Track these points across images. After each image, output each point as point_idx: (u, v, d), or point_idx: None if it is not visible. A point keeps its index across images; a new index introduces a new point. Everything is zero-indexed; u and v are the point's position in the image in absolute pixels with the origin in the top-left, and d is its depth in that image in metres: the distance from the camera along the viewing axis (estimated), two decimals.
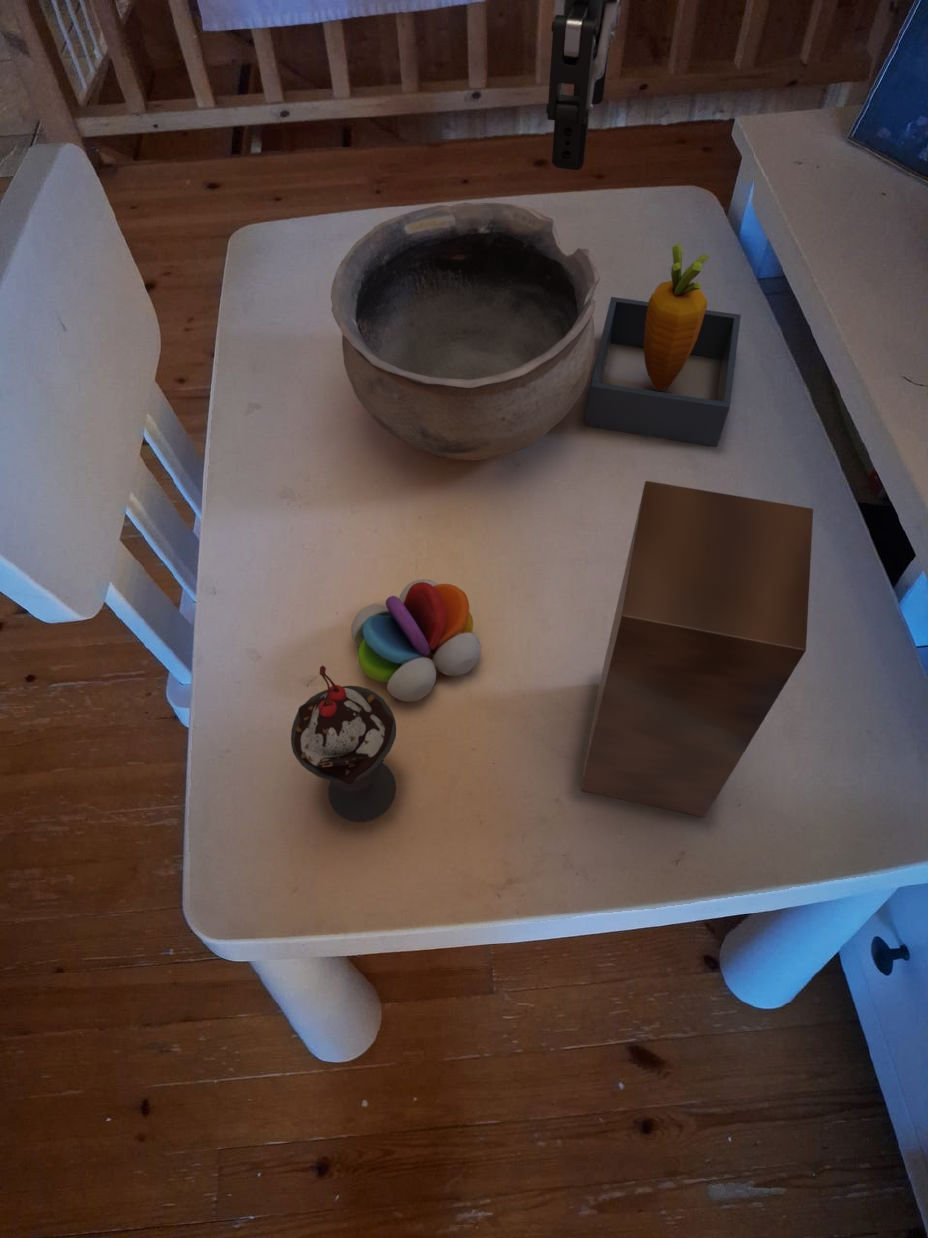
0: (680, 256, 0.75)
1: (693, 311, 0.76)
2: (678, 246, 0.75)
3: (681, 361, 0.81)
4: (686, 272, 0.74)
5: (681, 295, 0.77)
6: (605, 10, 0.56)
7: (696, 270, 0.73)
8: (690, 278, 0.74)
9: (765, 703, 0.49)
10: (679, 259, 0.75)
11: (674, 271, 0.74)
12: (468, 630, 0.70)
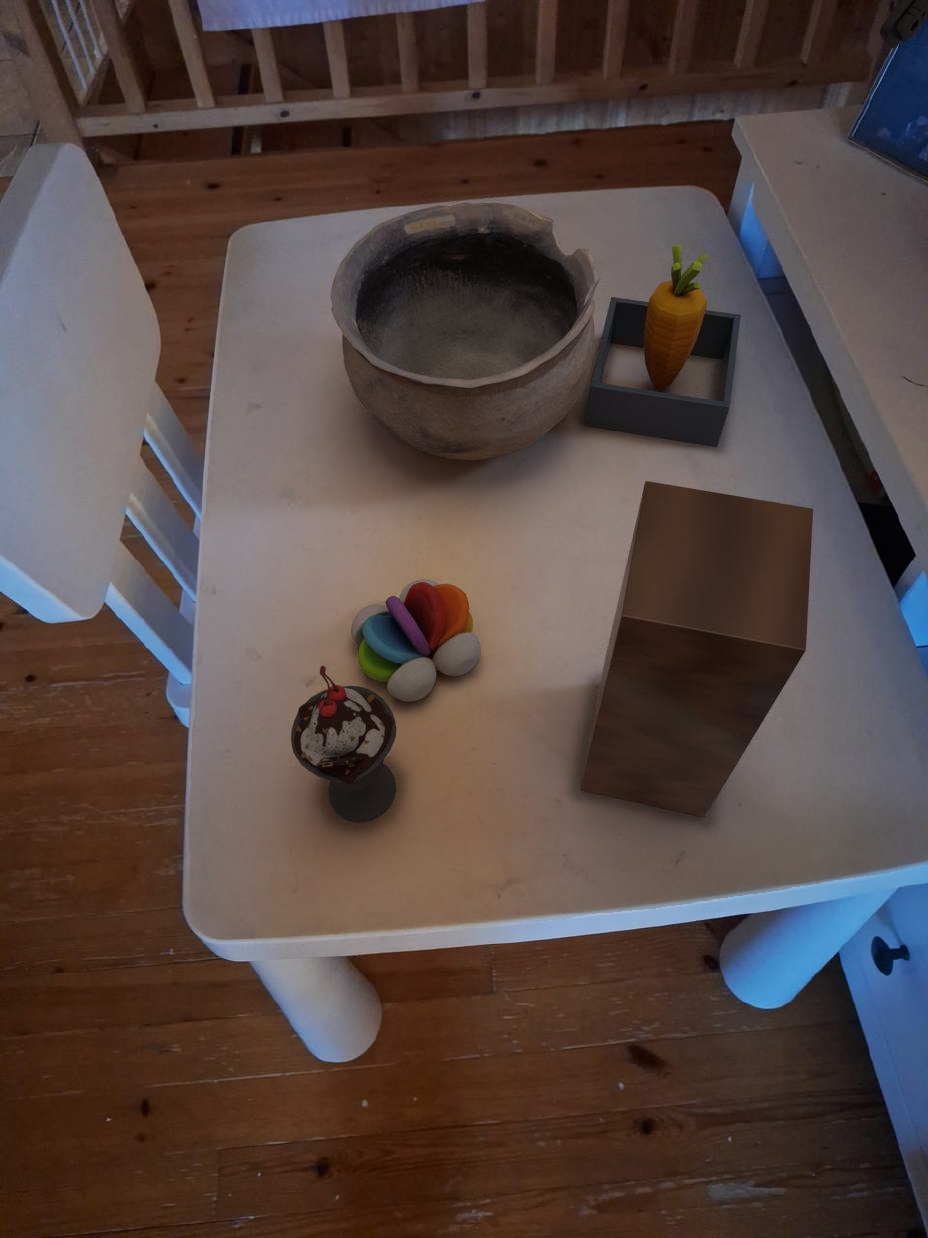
0: (680, 256, 0.75)
1: (693, 311, 0.76)
2: (678, 246, 0.75)
3: (681, 361, 0.81)
4: (686, 272, 0.74)
5: (681, 295, 0.77)
6: None
7: (696, 270, 0.73)
8: (690, 278, 0.74)
9: (765, 703, 0.49)
10: (679, 258, 0.75)
11: (674, 271, 0.74)
12: (468, 630, 0.70)
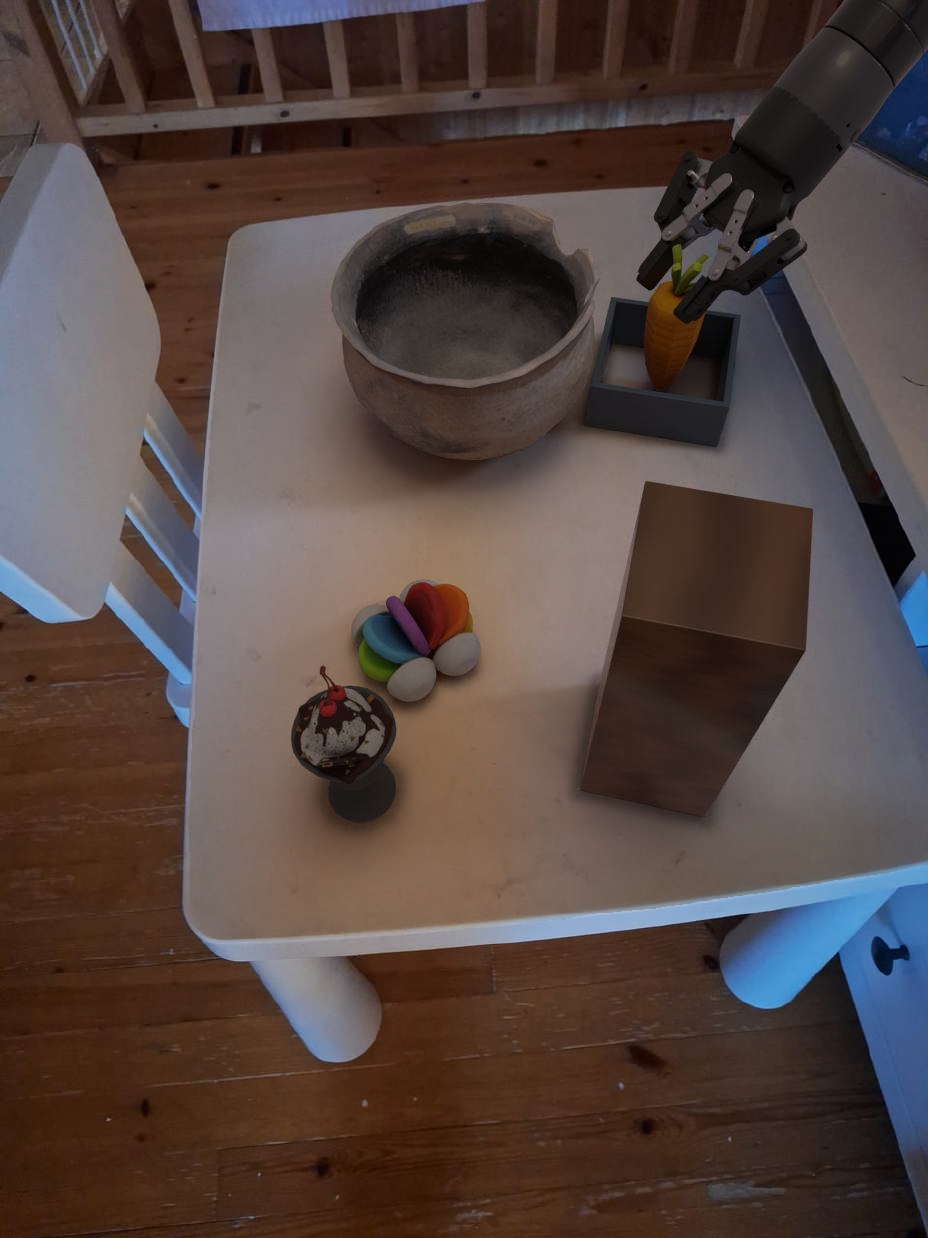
0: (680, 257, 0.75)
1: None
2: (678, 246, 0.75)
3: (681, 361, 0.81)
4: (686, 272, 0.74)
5: (681, 295, 0.77)
6: None
7: (696, 270, 0.73)
8: (690, 278, 0.74)
9: (765, 703, 0.49)
10: (679, 259, 0.75)
11: (674, 271, 0.74)
12: (468, 630, 0.70)
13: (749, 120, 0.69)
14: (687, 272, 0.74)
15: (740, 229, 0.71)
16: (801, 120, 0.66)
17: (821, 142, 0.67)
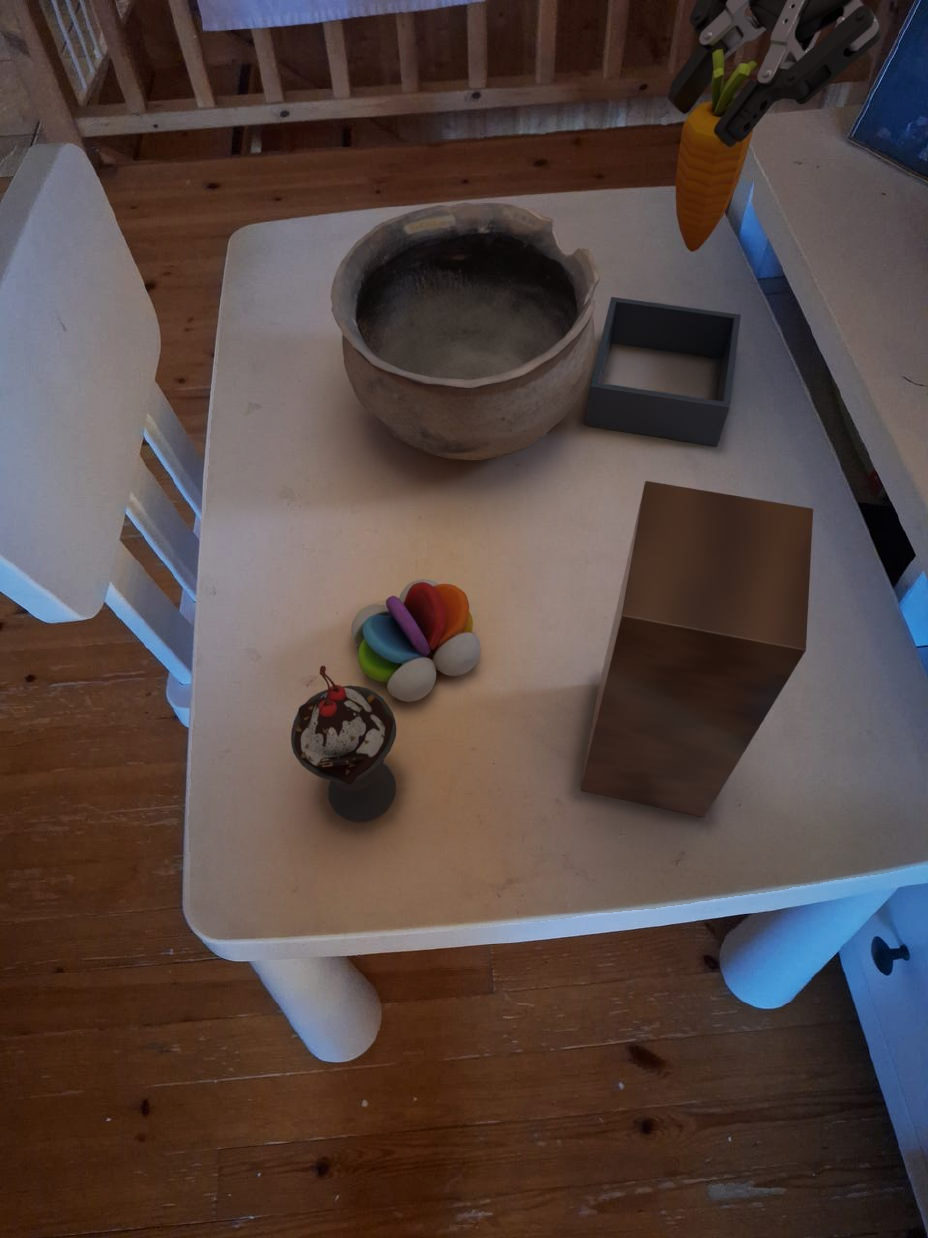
0: (722, 64, 0.62)
1: None
2: (719, 51, 0.62)
3: (720, 205, 0.68)
4: (730, 79, 0.61)
5: None
6: None
7: (743, 74, 0.60)
8: (735, 87, 0.61)
9: (765, 703, 0.49)
10: (721, 67, 0.62)
11: (716, 78, 0.61)
12: (468, 630, 0.70)
13: None
14: (731, 78, 0.61)
15: (798, 15, 0.58)
16: None
17: None
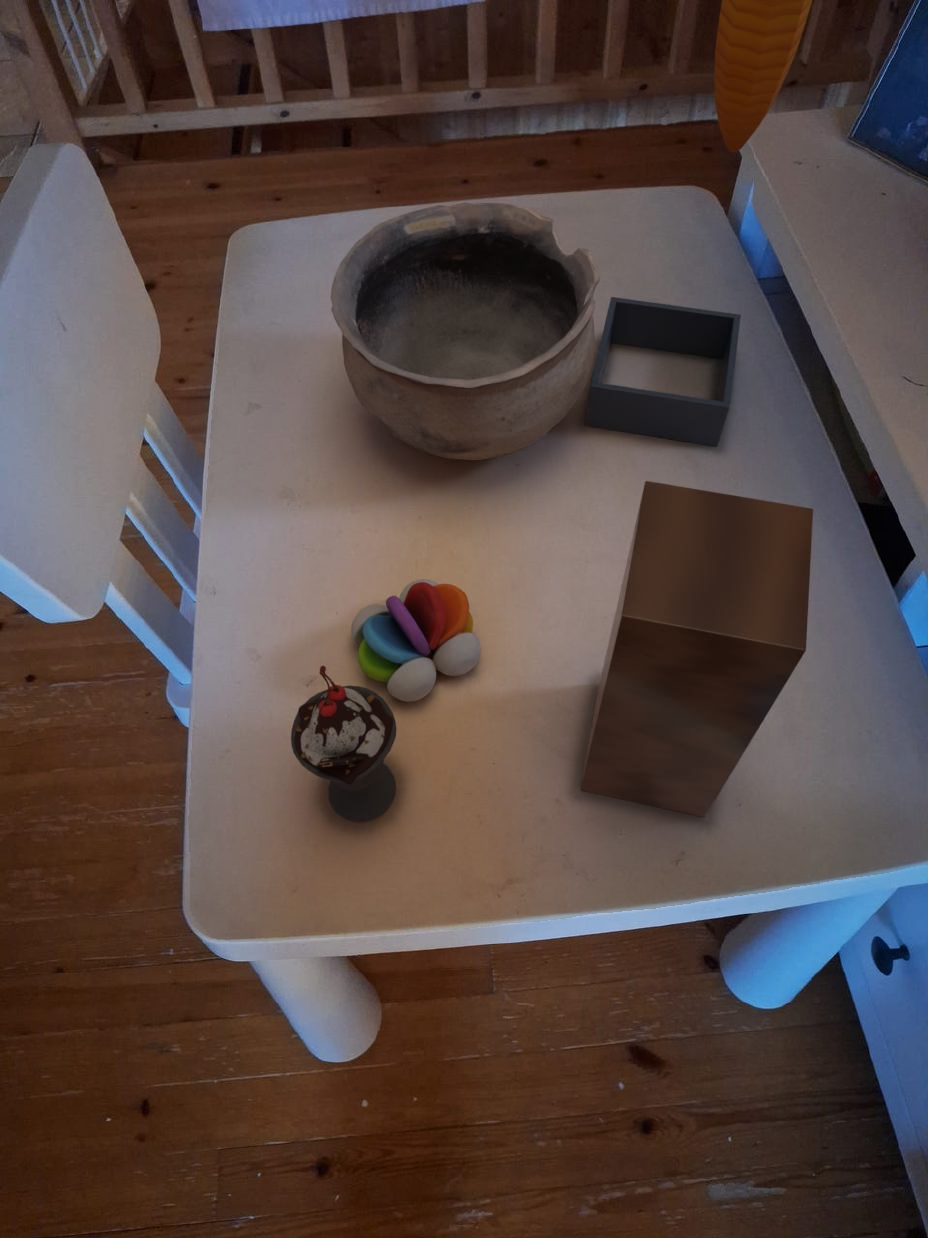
0: None
1: None
2: None
3: (773, 82, 0.53)
4: None
5: None
6: None
7: None
8: None
9: (765, 703, 0.49)
10: None
11: None
12: (468, 630, 0.70)
13: None
14: None
15: None
16: None
17: None
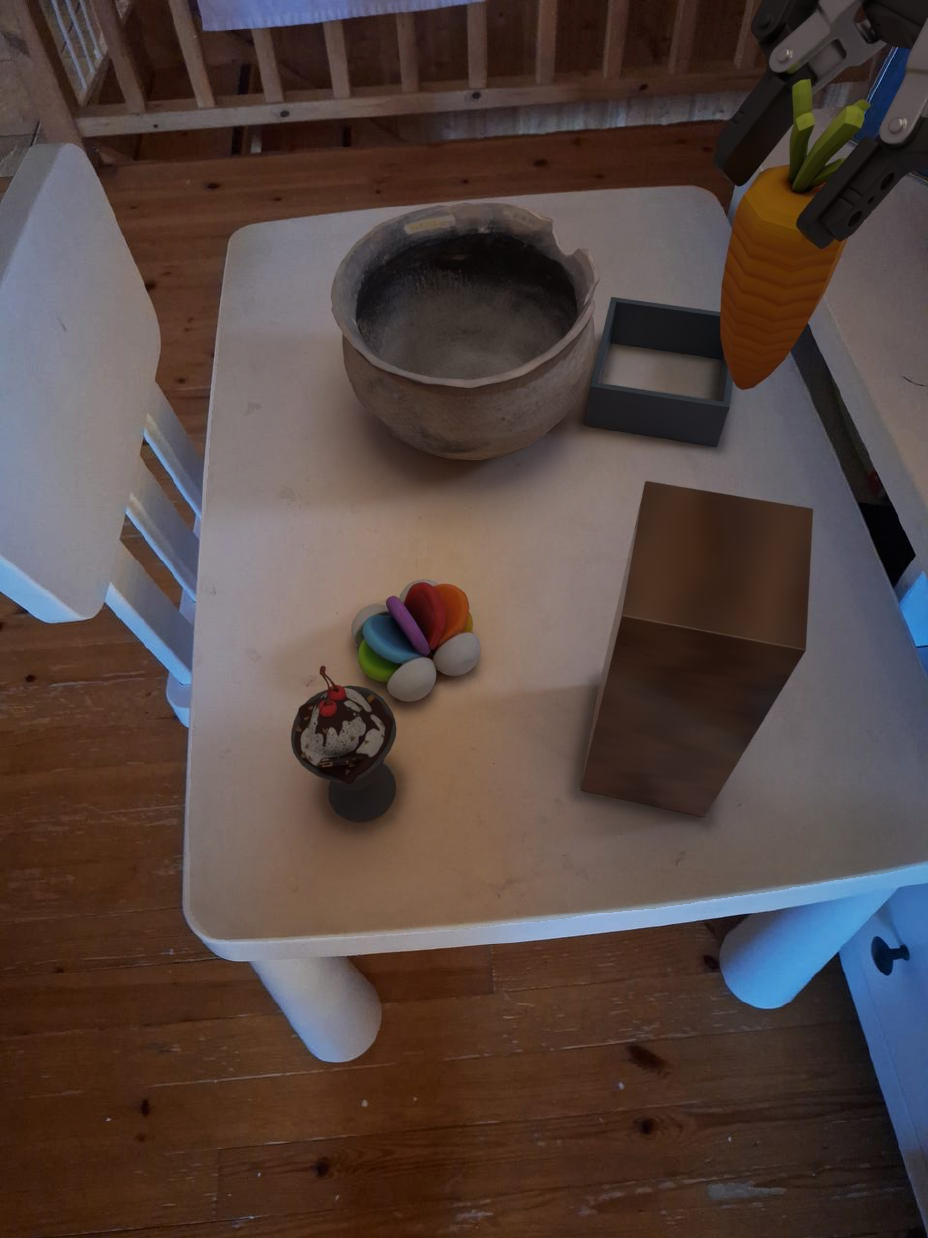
0: (809, 106, 0.36)
1: None
2: (805, 83, 0.35)
3: (795, 331, 0.41)
4: (827, 133, 0.34)
5: (807, 191, 0.37)
6: None
7: (852, 125, 0.33)
8: (835, 147, 0.34)
9: (765, 703, 0.49)
10: (807, 111, 0.36)
11: (800, 132, 0.35)
12: (468, 630, 0.70)
13: None
14: (829, 132, 0.34)
15: None
16: None
17: None
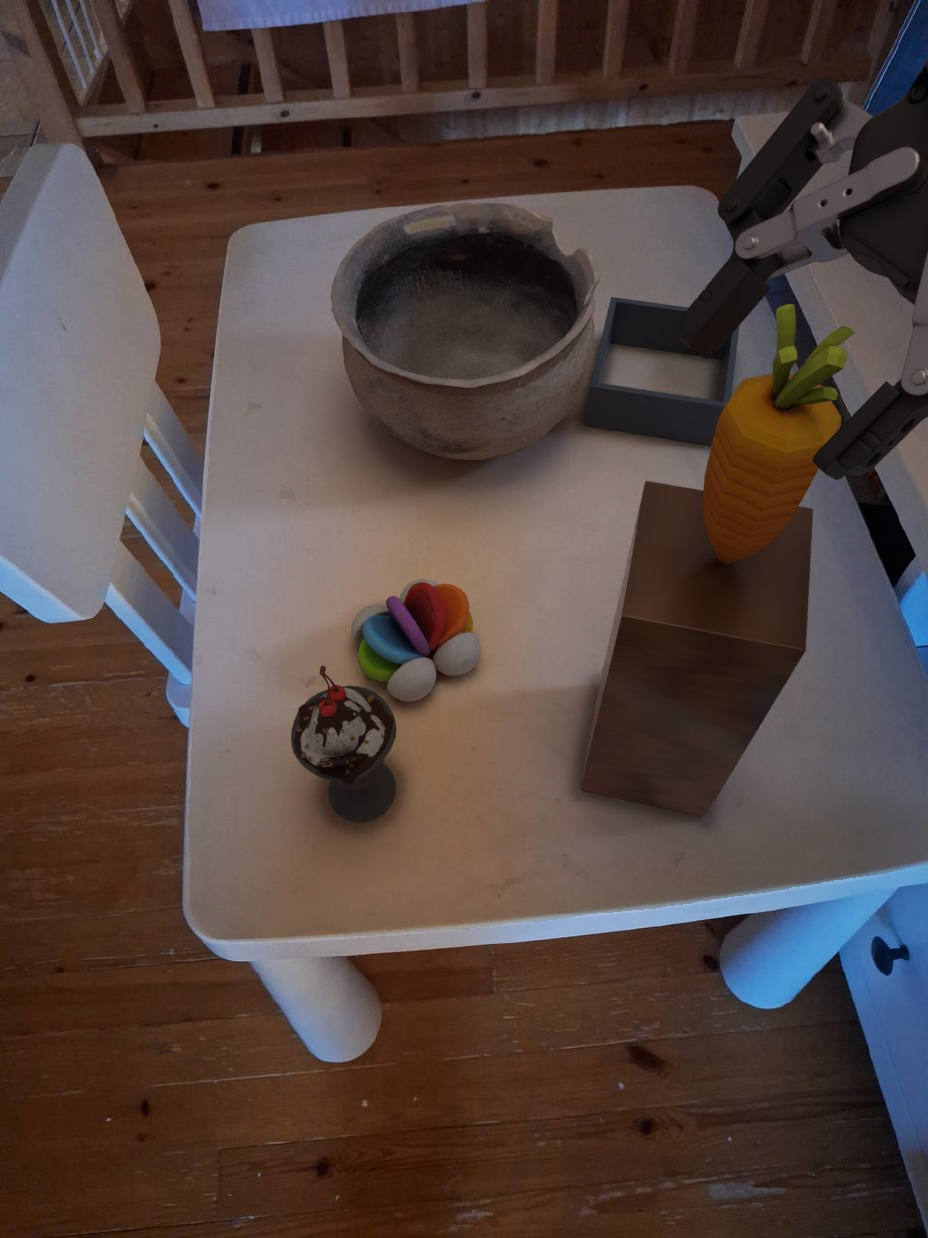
0: (792, 331, 0.35)
1: (815, 443, 0.36)
2: (789, 310, 0.35)
3: (777, 527, 0.41)
4: (810, 368, 0.34)
5: (790, 408, 0.37)
6: None
7: (834, 366, 0.33)
8: (817, 380, 0.34)
9: (765, 703, 0.49)
10: (790, 336, 0.35)
11: (783, 364, 0.34)
12: (468, 630, 0.70)
13: None
14: (811, 367, 0.34)
15: None
16: None
17: None
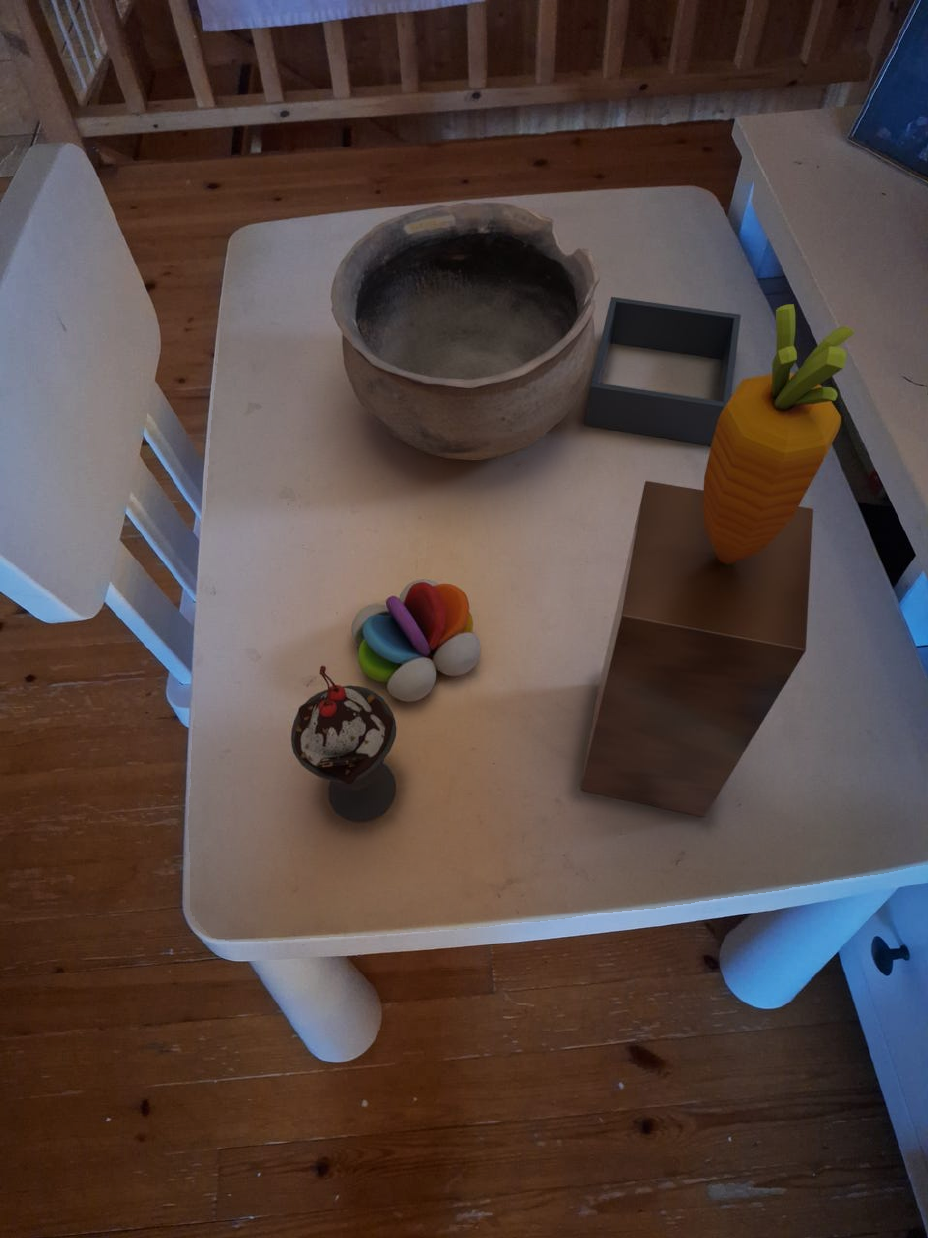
0: (792, 331, 0.35)
1: (815, 443, 0.36)
2: (789, 310, 0.35)
3: (777, 527, 0.41)
4: (809, 368, 0.34)
5: (790, 408, 0.37)
6: None
7: (834, 366, 0.33)
8: (817, 381, 0.34)
9: (765, 703, 0.49)
10: (790, 336, 0.35)
11: (783, 364, 0.34)
12: (468, 630, 0.70)
13: None
14: (811, 367, 0.34)
15: None
16: None
17: None
